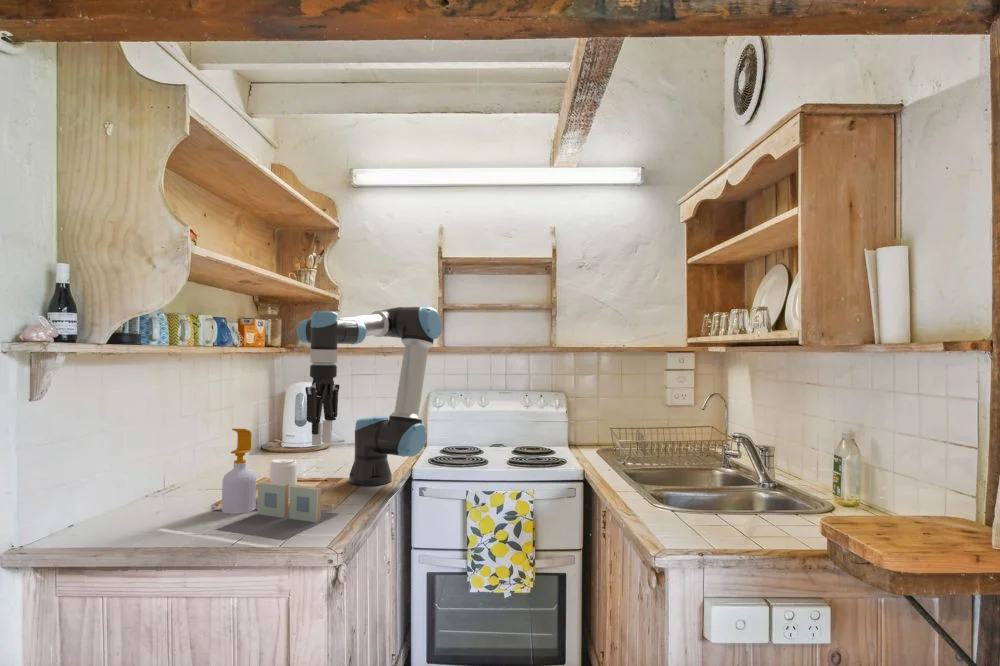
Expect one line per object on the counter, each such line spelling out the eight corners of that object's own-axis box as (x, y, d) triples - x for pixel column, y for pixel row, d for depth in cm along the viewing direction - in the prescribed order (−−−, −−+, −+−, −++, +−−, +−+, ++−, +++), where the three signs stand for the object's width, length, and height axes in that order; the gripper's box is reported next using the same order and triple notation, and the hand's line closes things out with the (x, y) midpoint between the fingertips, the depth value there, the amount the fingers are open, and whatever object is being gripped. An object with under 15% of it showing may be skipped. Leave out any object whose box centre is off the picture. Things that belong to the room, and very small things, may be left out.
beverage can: (263, 499, 185) (264, 461, 186) (281, 493, 193) (282, 456, 193) (285, 502, 183) (285, 463, 183) (301, 495, 191) (302, 458, 191)
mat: (277, 507, 177) (277, 505, 177) (339, 516, 170) (339, 514, 170) (215, 531, 154) (215, 529, 154) (284, 542, 147) (284, 540, 147)
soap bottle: (216, 515, 168) (218, 429, 168) (230, 506, 177) (232, 425, 177) (247, 516, 168) (249, 430, 168) (260, 507, 177) (262, 425, 177)
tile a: (293, 516, 166) (294, 484, 166) (320, 520, 163) (321, 488, 164) (288, 518, 164) (289, 486, 164) (315, 522, 161) (316, 489, 161)
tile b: (262, 512, 170) (263, 481, 170) (288, 515, 167) (288, 484, 167) (257, 514, 168) (257, 482, 168) (283, 517, 165) (283, 485, 165)
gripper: (330, 362, 180) (328, 438, 180) (293, 364, 164) (291, 447, 164) (351, 363, 178) (349, 440, 178) (316, 365, 162) (314, 450, 161)
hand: (321, 443), depth 171 cm, fingers open, 4 cm apart
